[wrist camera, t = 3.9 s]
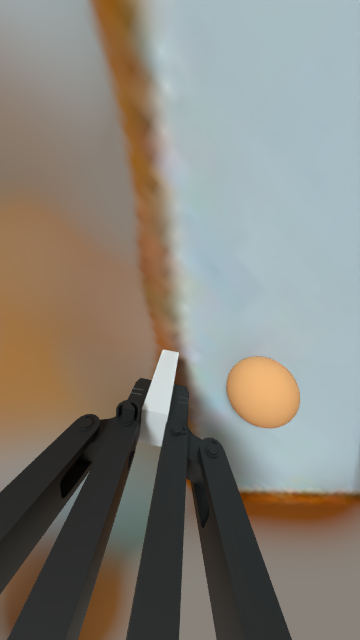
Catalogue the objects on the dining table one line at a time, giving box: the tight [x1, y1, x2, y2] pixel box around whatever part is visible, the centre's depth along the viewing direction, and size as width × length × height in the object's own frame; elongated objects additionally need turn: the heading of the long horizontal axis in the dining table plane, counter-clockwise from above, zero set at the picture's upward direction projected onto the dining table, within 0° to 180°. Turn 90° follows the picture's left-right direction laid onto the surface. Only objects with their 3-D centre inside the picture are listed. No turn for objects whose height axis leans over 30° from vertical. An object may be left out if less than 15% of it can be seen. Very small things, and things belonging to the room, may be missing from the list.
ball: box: [227, 356, 300, 428], centre depth 15 cm, size 6×6×6 cm
